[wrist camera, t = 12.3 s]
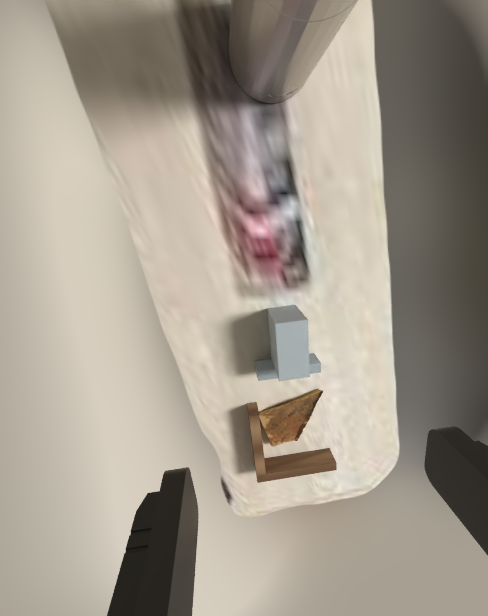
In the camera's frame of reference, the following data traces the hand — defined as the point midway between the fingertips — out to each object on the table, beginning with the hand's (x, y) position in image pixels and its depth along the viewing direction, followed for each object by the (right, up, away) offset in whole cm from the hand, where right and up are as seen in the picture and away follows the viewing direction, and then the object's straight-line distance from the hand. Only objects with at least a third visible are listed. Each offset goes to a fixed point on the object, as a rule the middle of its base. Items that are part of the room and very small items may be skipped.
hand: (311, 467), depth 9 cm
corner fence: (+6, -16, +38) cm, 41 cm away
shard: (+4, -11, +37) cm, 39 cm away
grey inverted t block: (+3, +2, +32) cm, 32 cm away
